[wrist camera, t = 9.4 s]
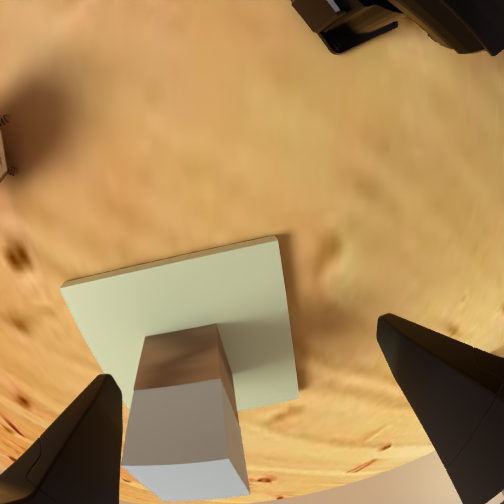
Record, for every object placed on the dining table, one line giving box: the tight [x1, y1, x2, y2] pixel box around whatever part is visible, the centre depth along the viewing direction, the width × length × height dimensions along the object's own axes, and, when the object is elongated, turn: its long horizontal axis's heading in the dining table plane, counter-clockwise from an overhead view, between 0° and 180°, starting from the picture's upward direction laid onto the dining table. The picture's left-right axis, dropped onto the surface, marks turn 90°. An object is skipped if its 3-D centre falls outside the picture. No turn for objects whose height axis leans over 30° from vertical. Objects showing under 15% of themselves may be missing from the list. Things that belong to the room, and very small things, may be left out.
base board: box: [59, 235, 299, 412], centre depth 23 cm, size 16×16×1 cm
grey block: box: [121, 378, 251, 502], centre depth 15 cm, size 6×6×6 cm
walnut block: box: [133, 323, 239, 424], centre depth 20 cm, size 6×6×6 cm
